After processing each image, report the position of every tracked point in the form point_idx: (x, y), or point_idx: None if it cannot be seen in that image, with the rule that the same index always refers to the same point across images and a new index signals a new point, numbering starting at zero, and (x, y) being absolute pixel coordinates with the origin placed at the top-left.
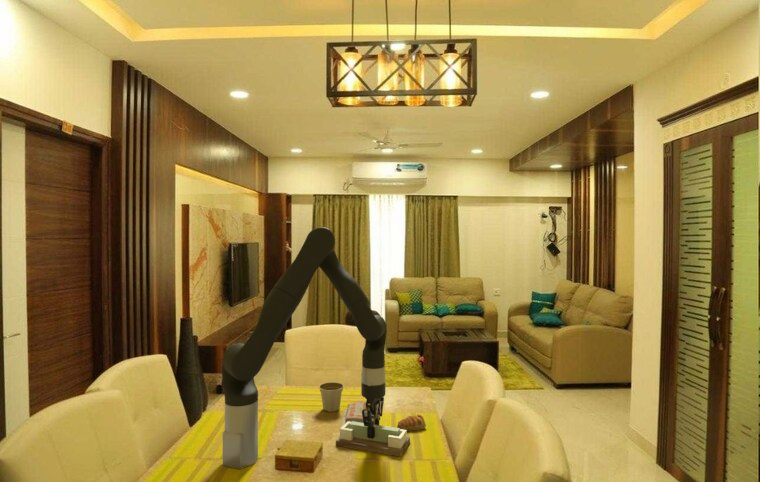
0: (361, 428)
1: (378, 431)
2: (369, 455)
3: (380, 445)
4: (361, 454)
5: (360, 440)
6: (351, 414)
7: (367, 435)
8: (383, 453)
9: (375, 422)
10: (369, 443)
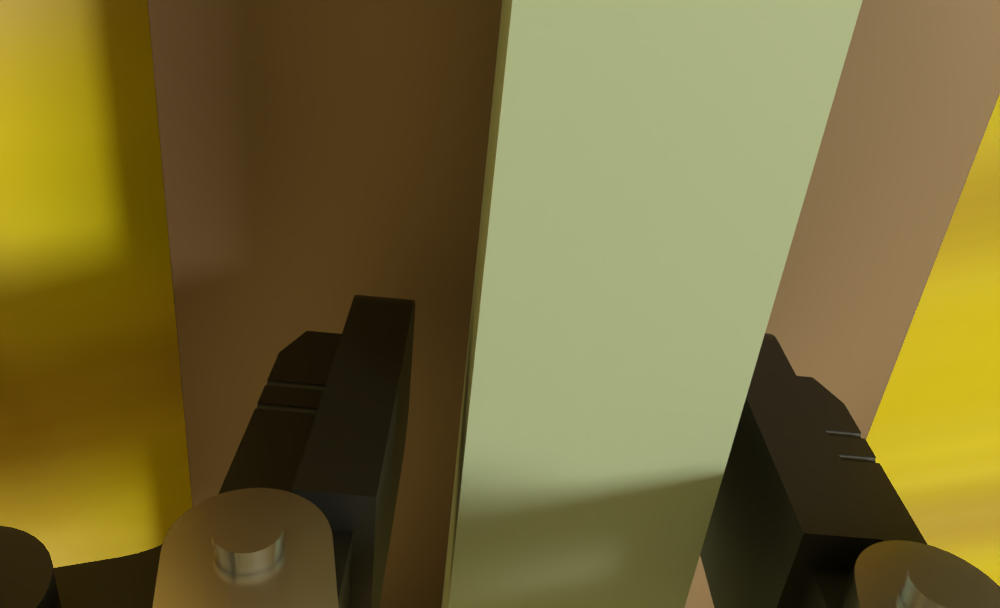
0: (494, 146)
1: (445, 606)
2: (57, 321)
3: None
4: (16, 173)
5: (382, 64)
6: None
7: (352, 316)
8: None
9: (753, 599)
10: (304, 304)
